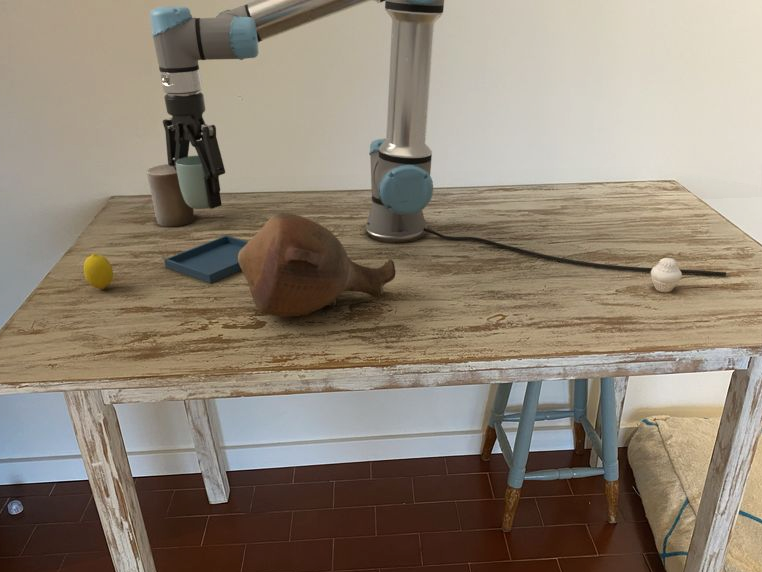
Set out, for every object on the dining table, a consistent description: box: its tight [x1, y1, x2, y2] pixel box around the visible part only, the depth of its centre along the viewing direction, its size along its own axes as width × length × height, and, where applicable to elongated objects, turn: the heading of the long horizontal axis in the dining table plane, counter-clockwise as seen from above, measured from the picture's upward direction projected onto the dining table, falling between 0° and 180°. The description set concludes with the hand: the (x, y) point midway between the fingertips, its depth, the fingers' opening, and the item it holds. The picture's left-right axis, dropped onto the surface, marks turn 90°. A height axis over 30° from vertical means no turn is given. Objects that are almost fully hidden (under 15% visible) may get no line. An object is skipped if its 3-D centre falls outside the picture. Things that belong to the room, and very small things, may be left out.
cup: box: [176, 155, 210, 210], centre depth 151 cm, size 8×8×10 cm
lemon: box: [83, 253, 114, 290], centre depth 148 cm, size 6×6×8 cm
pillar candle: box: [146, 163, 196, 228], centre depth 182 cm, size 10×10×15 cm
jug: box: [238, 212, 396, 318], centre depth 137 cm, size 20×20×30 cm
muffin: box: [650, 257, 683, 293], centre depth 146 cm, size 6×6×7 cm
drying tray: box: [163, 234, 249, 284], centre depth 162 cm, size 15×18×2 cm
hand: (202, 203), depth 153 cm, fingers closed on cup, 8 cm apart
